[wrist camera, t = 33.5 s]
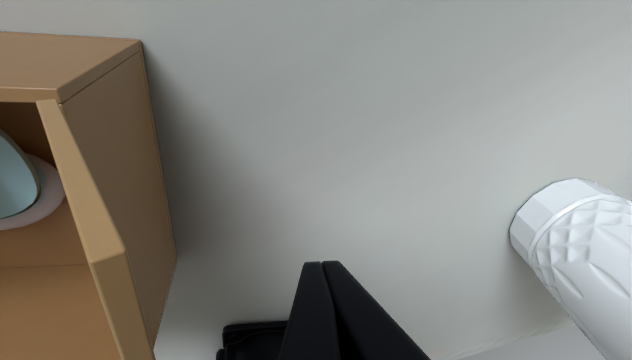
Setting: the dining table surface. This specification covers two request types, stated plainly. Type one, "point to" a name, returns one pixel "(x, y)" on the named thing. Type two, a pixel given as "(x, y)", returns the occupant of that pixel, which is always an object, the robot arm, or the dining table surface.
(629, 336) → the white cup
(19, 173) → the pacifier
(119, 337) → the flap
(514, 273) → the dining table surface
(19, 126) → the carton
